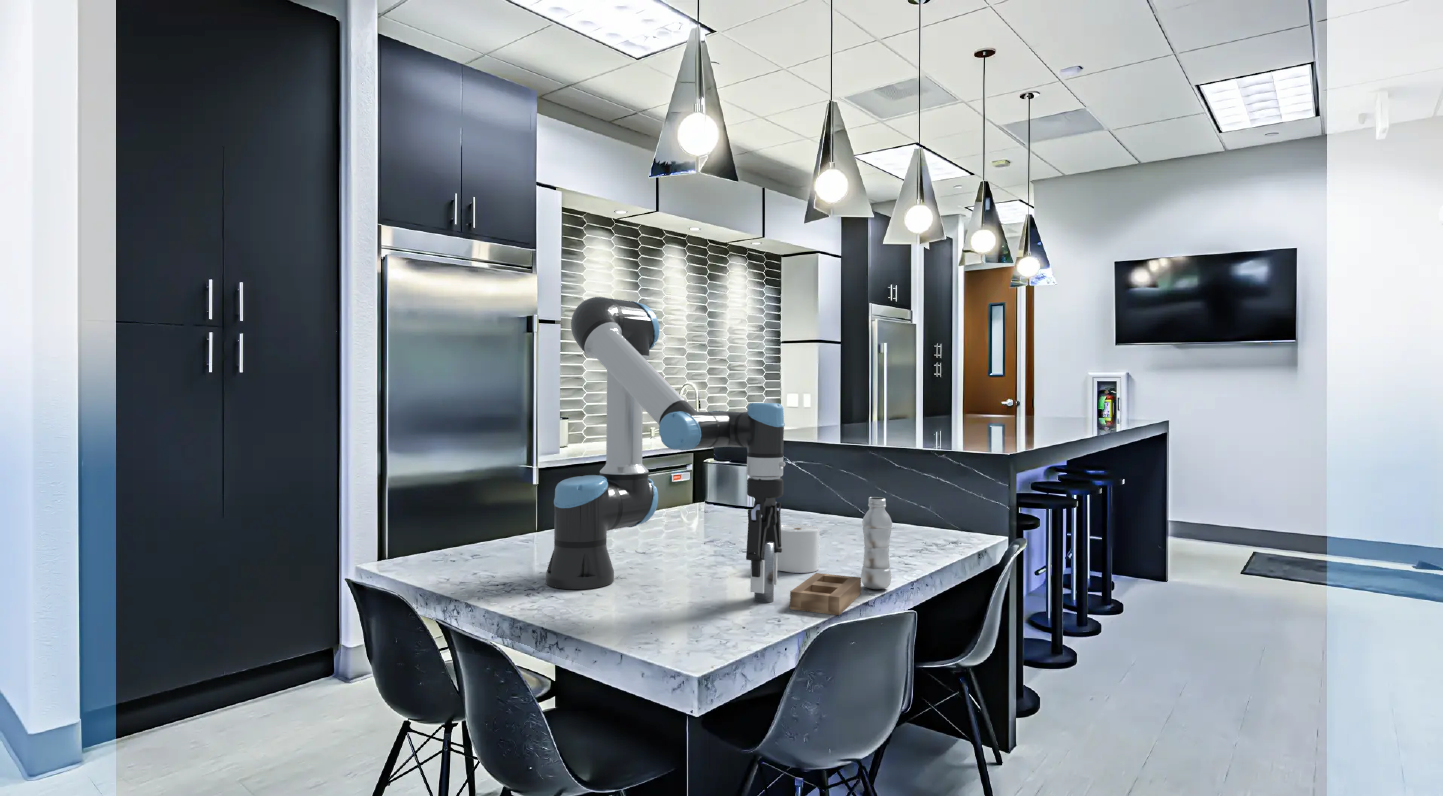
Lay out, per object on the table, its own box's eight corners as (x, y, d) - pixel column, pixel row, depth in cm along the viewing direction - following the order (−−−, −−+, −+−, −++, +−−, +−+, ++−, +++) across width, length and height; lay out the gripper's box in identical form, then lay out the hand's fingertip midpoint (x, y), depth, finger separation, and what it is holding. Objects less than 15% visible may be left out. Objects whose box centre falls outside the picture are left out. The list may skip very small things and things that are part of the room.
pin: (751, 601, 160) (752, 543, 160) (758, 597, 164) (758, 540, 164) (769, 603, 158) (770, 545, 158) (776, 599, 162) (776, 541, 162)
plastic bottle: (871, 583, 176) (872, 495, 176) (897, 589, 172) (898, 498, 172) (854, 588, 172) (855, 497, 172) (880, 594, 167) (881, 501, 167)
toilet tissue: (826, 567, 193) (826, 527, 193) (805, 576, 183) (806, 534, 183) (787, 562, 199) (787, 523, 198) (765, 571, 188) (765, 529, 188)
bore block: (790, 609, 155) (790, 591, 155) (815, 588, 171) (816, 572, 171) (839, 615, 151) (839, 597, 151) (860, 593, 167) (860, 577, 167)
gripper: (765, 483, 150) (764, 601, 150) (797, 473, 169) (796, 579, 169) (729, 481, 153) (728, 597, 153) (764, 472, 172) (763, 575, 172)
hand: (764, 587), depth 161 cm, fingers open, 7 cm apart
